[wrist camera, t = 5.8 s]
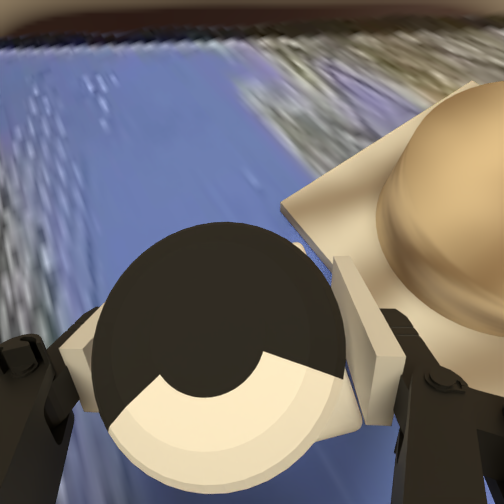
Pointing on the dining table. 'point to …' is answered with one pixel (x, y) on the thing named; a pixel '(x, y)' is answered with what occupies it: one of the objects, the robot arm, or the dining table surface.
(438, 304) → the post stand
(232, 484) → the medicine bottle
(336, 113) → the dining table surface
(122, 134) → the dining table surface
